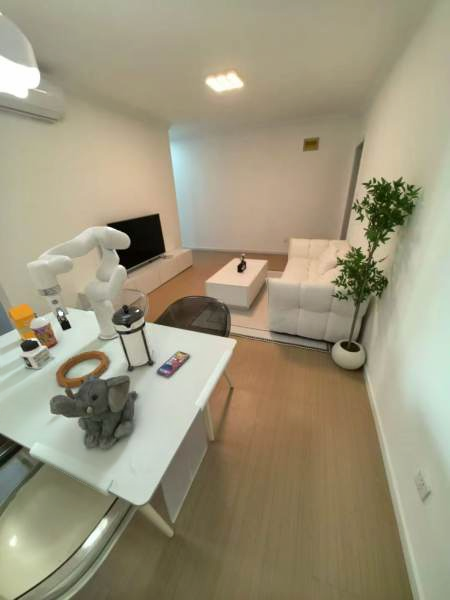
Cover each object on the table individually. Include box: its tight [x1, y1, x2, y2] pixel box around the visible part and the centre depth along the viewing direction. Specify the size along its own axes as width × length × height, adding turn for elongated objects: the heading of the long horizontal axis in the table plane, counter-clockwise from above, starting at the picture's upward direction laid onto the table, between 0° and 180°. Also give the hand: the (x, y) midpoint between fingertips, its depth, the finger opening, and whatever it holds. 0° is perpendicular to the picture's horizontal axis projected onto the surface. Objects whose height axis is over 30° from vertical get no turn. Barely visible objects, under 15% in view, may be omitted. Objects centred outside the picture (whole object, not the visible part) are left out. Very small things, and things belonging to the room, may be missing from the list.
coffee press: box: [111, 304, 155, 372], centre depth 102 cm, size 17×16×30 cm
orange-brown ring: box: [55, 350, 110, 389], centre depth 104 cm, size 20×20×3 cm
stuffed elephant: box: [49, 373, 138, 450], centre depth 72 cm, size 19×21×27 cm
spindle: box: [64, 387, 77, 399], centre depth 88 cm, size 4×4×6 cm
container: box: [18, 338, 54, 370], centre depth 108 cm, size 8×8×13 cm
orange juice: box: [7, 302, 37, 341], centre depth 128 cm, size 8×9×20 cm
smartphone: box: [157, 350, 190, 377], centre depth 104 cm, size 1×7×15 cm
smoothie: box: [30, 312, 58, 349], centre depth 119 cm, size 8×8×20 cm
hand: (65, 325), depth 102 cm, fingers open, 9 cm apart
